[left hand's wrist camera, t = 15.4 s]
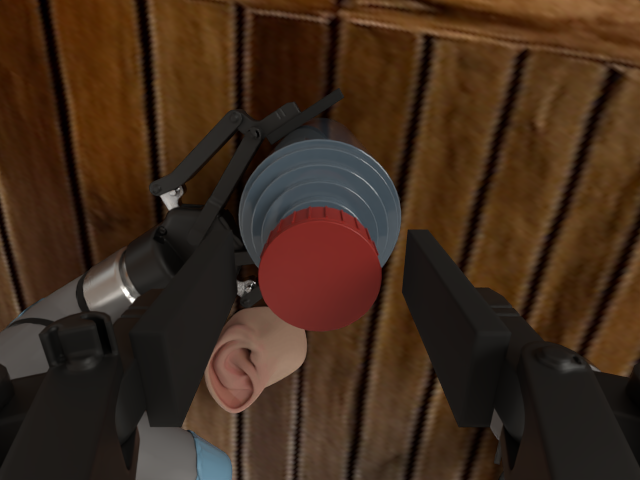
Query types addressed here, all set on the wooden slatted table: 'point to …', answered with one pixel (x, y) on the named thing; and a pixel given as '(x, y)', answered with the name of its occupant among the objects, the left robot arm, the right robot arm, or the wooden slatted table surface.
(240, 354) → the anatomical model
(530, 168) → the wooden slatted table surface
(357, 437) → the wooden slatted table surface
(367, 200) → the bottle
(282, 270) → the cap
